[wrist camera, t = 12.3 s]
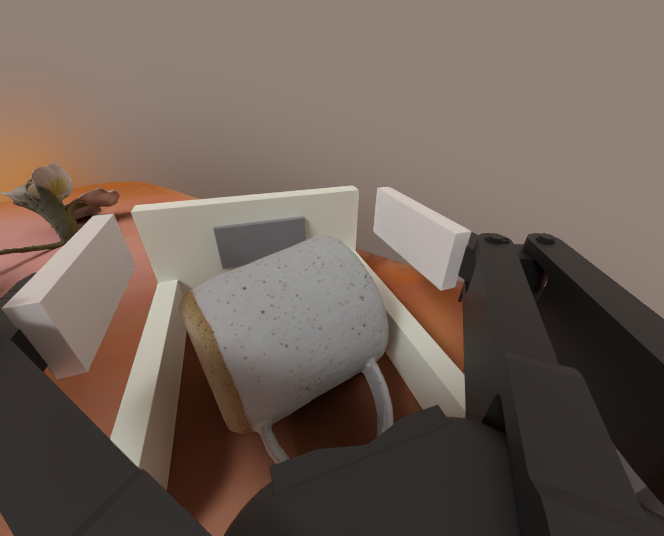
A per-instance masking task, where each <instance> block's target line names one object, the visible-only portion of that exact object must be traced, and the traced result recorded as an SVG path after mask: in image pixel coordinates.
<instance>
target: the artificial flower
mask: <svg viewBox="0 0 664 536" xmlns="http://www.w3.org/2000/svg"><path fill="white" fill-rule="evenodd" d="M29 181H30V183H28V182H29ZM72 189H73V185H72V182H71V179H70V178H69V176H68V175H67V174H66V172H65V171H64V170H63V169H61V167H60V166H59V165H58V164H57V163H55V162H52V163H50V164H48V165H47V166H46V167H41V168H38V169H35V170H34V171H32V178H30V179H29V180H28V181H27V184H26V185H23V186H20V187H18V188H16V189H14V190H13V191H11V192H4V193H2V194H4V195H6V196H8V197H10V198H11V199H13V200H14V202H13V203H14V204H15V205H18V206H22V207H25V208H27V209H29V210H32V211H34V212H36V213H38V214H39V215H41V216H42V217H43V218H44V219H45V220H46V221H48V222H49V223H50V225H51V227H52V228H54V229H55V231H56V232H57V234H58V235H59V237H60V239H61V242H58V243H53V244H49V245H41V246H31V247H24V248H20V249H18V248H13V249H4V250H1V251H0V255H4V254H10V253H25V252H31V251H40V250H45V249H53V248H57V247H60V246H62V245H64V244H66V242H67V241H68V240H69V239H70V236H71V235H73V234H74V232H75V231H76V230H77V228H78V224H77V222H76V219H79V218H82V217H86V216H92V215H98V214H97V213H99V212H101V208H100V207H110V206H112V205H115V204H116V203H117V201H118V199H119V197H120V194H119V193H118V192H117V191H116V190H112V191H109V192H108V191H105V190H104V189H102V188H97V189H94V190H92V191H89V192H87V193H85V194H82V195H81V196H80V198H77V199H75V200H74V201H72V202H71V203H70V204H68V205H66V206H64V205H63V203H62V200H63V199H64V198H66V197H67V196H69V195H70V194H71V192H72Z"/></svg>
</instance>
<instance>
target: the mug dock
mask: <svg viewBox="0 0 664 536" xmlns="http://www.w3.org/2000/svg"><path fill="white" fill-rule="evenodd" d="M358 198H359V190H358V189H357V188H355V187H354V186H343V187H333V188H321V189H310V190H299V191H288V192H277V193H266V194H255V195H245V196H233V197H223V198H212V199H200V200H189V201H178V202H167V203H156V204H145V205H135V207H134V208H133V209H132V211H131V214H132V217H133V219H134V222H135V225H136V227H137V230H138V232H139V235H140V237H141V240H142V243H143V245H144V248H145V250H146V253H147V256H148V258H149V261H150V263H151V266H152V269H153V271H154V274H155V276H156V279H157V281H158V285H157V288H156V292H155V295H154V298H153V301H152V305H151V308H150V311H149V314H148V318H147V321H146V324H145V327H144V331H143V334H142V337H141V340H140V343H139V347H138V350H137V353H136V356H135V360H134V363H133V366H132V369H131V373H130V376H129V379H128V382H127V386H126V389H125V392H124V395H123V399H122V402H121V405H120V408H119V412H118V415H117V418H116V421H115V425H114V428H113V431H112V434H111V438H110V440H111V441H112V442H113V443H114V444H115V445H116V446H117V447H118V448H119V449H120V450H121V451H122V452H123V453H124V454H125V455H126V456H127V457H128V458H129V459H130V460H131V461H132V462H133V463H134V464H135V465H136V466H137V467H138V468H140V469H144V470H145V471H147V472H148V473H149V474H150V475H151V476H152V477H153V478H154V479H155V480H156V481H157V482H158V483H159V484H160V485H161V486H162V487H163V488H164V489H165V490H166V491H167V487H168V479H169V471H170V463H171V455H172V447H173V439H174V431H175V423H176V415H177V407H178V399H179V391H180V383H181V375H182V367H183V359H184V351H185V343H186V335H187V330H186V327H185V325H184V323H183V321H182V318H181V315H180V312H179V310H178V307H179V304H180V302H181V299H182V297H183V296H184V295H185V294H186V293H188V292H189V291H190V290H192V289H194V288H196V287H197V286H199V285H201V284H202V283H204V282H206V281H208V280H210V279H212V278H213V277H215V276H218V275H220V274H223V273H225V272H228V271H230V270H233V269H236V268H238V267H241V266H244V265H247V264H249V263H252V262H254V261H256V260H258V259H261V258H263V257H266V256H268V255H271V254H273V253H276V252H279V251H281V250H284V249H286V248H289V247H291V246H294V245H296V244H298V243H301V242H303V241H305V240H308V239H310V238H313V237H316V236H322V235H324V236H330V237H333V238H335V239H338V240H339V241H341V242H342V243H343V244H344V245H346V246H347V247H348V248H350V249H351V250H352V251H353V252H354V253H355V254H356V255H357V257H358V258H359V259H360V261H361V262H362V263H363V265H364V266H365V268H366V269H367V271H368V272H369V274H370V275H371V277H372V279H373V281H374V283H375V285H376V287H377V289H378V291H379V293H380V296H381V298H382V300H383V304H384V307H385V311H386V315H387V321H388V326H389V336H388V344H387V347H386V349H385V352H386V354H387V356H388V357H389V359H390V360H391V362H392V363H393V365H394V366H395V368H396V369H397V371H398V372H399V374H400V376H401V377H402V379H403V380H404V382H405V383H406V385H407V386H408V388H409V389H410V391H411V392H412V394H413V396H414V397H415V399H416V400H417V402H418V403H419V405H420V406H421V408H422V409H423V410H424V409H427V408H429V407H432V406H435V405H439V407H440V408H441V410H442V411H443V412H444V414H445V415H446V417H460V418H465V414H466V411H465V375H464V374H463V373H462V372H461V371H460V369H459V368H458V367H457V366H456V365H455V364H454V363H453V361H452V360H451V359H450V358H449V357H448V356H447V355H446V353H445V352H444V351H443V350H442V349H441V348H440V347H439V346H438V344H437V343H436V342H435V341H434V340H433V339H432V338H431V336H430V335H429V334H428V333H427V332H426V331H425V330H424V328H423V327H422V326H421V325H420V324H419V323H418V322H417V320H416V319H415V318H414V317H413V316H412V315H411V314H410V313H409V311H408V310H407V309H406V308H405V307H404V306H403V305H402V303H401V302H400V301H399V300H398V299H397V298H396V297H395V295H394V294H393V293H392V292H391V291H390V290H389V289H388V287H387V286H386V285H385V284H384V283H383V282H382V281H381V280H380V278H379V277H378V276H377V275H376V274H375V273H374V272H373V270H372V269H371V268H370V267H369V266H368V265H367V264H366V262H365V261H364V260H363V259H362V258H361V257H360V256H359V254H358V253H357V252H356V251H355V250H356V233H357V216H358V215H357V214H358Z"/></svg>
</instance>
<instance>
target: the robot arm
mask: <svg viewBox="0 0 664 536" xmlns="http://www.w3.org/2000/svg"><path fill="white" fill-rule="evenodd" d="M373 232H374V233H375V234H377V235H378V236H379V237H380V238H381V239H382V240H383V241H385V242H386V243H387V244H388V245H389V246H390V247H391V248H393V249H394V250H395V251H396V252H397V253H398V254H399V255H401V256H402V257H403V258H404V259H405V260H406V261H408V262H409V263H410V264H411V265H412V266H413V267H414V268H415V269H417V270H418V271H419V272H420V273H421V274H422V275H423V276H425V277H426V278H427V279H428V280H429V281H430V282H432V283H433V284H434V285H435V286H436V287H437V288H438V289H440V290H441V291H442V290H446V289H451V288H455V286H456V282H457V279H458V276H460V277H461V278H463V279H464V280H465V281H464V284H463V287H462V290H461V294H460V297H459V300H458V302H461V300H462V299H463V334H464V372H465V411H466V414H465V418H460V417H446V415H445V414H444V412H443V411H442V410H441V408H440V407H439V405H435V406H432V407H429V408H427V409H424V410H421V411H419V412H416V413H413V414H410V415H408V416H405V417H402V418H401V419H400V420H398V421H397V422H396V423H395V424H393V425H392V426H391V427H389V428H388V429H387V430H386V431H384V432H383V433H382V434H381V435H379V436H378V437H377V438H375V439H374V440H373V441H372V442H370V443H369V444H366V445H362V446H349V447H337V448H324V449H316V450H313V451H310V452H308V453H305V454H302V455H300V456H297V457H294V458H291V459H289V460H286V461H283V462H281V463H278V464H275V465H273V466H270V472H271V478H272V482H271V483H269V484H268V485H267V486H265V487H264V488H263V489H261V490H260V491H259V492H258V493H257V494H256V495H255V496H254V497H253V498H252V499H250V501H249V502H248V503H247V504H246V505H245V506H244V507H243V509H242V510H241V511H240V512H239V513H238V515H237V516H236V518H235V519H234V520H233V522H232V523H231V524H230V526H229V528H228V529H227V531H226V533H225V534H224V536H664V517H663V516H661V515H659V514H657V513H655V512H653V511H651V510H649V509H648V508H646V507H644V506H642V505H640V503H639V501H638V498H637V496H636V494H635V492H634V489H633V487H632V485H631V483H630V480H629V478H628V476H627V474H626V471H625V469H624V467H623V465H622V462H621V460H620V458H619V456H618V454H617V451H616V449H615V447H614V445H615V446H616V448H617V449H618V451H619V452H620V453H621V455H622V456H623V457H624V459H625V460H626V461H627V463H628V464H629V465H630V467H631V468H632V469H633V471H634V472H635V473H636V474H637V475H638V477H639V478H640V479H641V480H642V481H643V482H644V484H645V485H646V486H647V487H648V488H649V490H650V491H651V492H652V493H653V494H654V495H655V497H656V498H657V499H658V500H659V501H660V502H661V503H662V504H663V505H664V319H663V318H662V317H660V316H659V315H658V314H656V313H655V312H654V311H653V310H651V309H650V308H649V307H647V306H646V305H645V304H643V303H642V302H641V301H640V300H638V299H637V298H636V297H634V296H633V295H632V294H631V293H629V292H628V291H627V290H625V289H624V288H623V287H621V286H620V285H619V284H618V283H616V282H615V281H614V280H612V279H611V278H610V277H609V276H607V275H606V274H605V273H603V272H602V271H601V270H599V269H598V268H597V267H596V266H594V265H593V264H592V263H590V262H589V261H588V260H587V259H585V258H584V257H582V256H581V255H580V254H579V253H577V252H576V251H575V250H574V249H572V248H571V247H570V246H568V245H567V244H566V243H565V242H563V241H562V240H560V239H558V238H556V237H553V236H552V235H549V234H545V233H543V234H539V233H538V234H537V233H535V234H529V235H528V236H527V238H526V241H525V243H524V244H521V245H520V244H513V242H512V241H511V240H510V239H509V238H507V237H504V236H502V235H499V234H494V233H492V234H491V233H484V234H480V235H477V234H475V233H473V232H471V231H470V230H468V229H466V228H465V227H463V226H461V225H459V224H457V223H455V222H453V221H451V220H450V219H448V218H446V217H444V216H442V215H440V214H438V213H437V212H435V211H433V210H431V209H429V208H427V207H425V206H424V205H422V204H420V203H418V202H416V201H414V200H412V199H411V198H409V197H407V196H405V195H403V194H401V193H399V192H398V191H396V190H394V189H392V188H390V187H382V188H377V198H376V208H375V219H374V230H373ZM135 267H136V266H135V263H134V261H133V258H132V256H131V254H130V251H129V249H128V247H127V244H126V242H125V239H124V237H123V235H122V232H121V230H120V228H119V225H118V223H117V220H116V218H115V216H114V214H106V215H96V216H93V217H92V218H91V219H90V220H89V221H88V222H87V223H86V224H85V225H84V226H83V227H82V228H81V229H80V230H79V231H78V232H77V233H76V234H75V235H74V236H73V237H72V238H71V239H70V240H69V241H68V242H67V243H66V244H65V245H64V246H63V247H62V248H61V249H60V250H59V251H58V252H57V253H56V254H55V255H54V256H53V257H52V258H51V259H50V260H49V261H48V262H47V263H46V264H45V265H44V266H43V267H42V268H41V269H40V270H39V271H38V272H37V273H33V274H31V275H29V276H27V277H26V278H24V279H22V280H20V281H19V282H17V283H16V284H15V285H14V286H13V287H12V288H11V289H10V290H9V291H8V293H6V294H5V295H4V296H3V297H2V298H1V299H0V512H1V514H2V516H3V517H4V519H5V521H6V523H7V524H8V526H9V528H10V530H11V532H12V533H13V535H14V536H212V535H211V534H210V533H209V532H208V531H207V530H206V529H205V528H204V527H203V526H202V525H201V524H200V523H199V522H198V521H197V520H195V519H194V518H193V517H192V516H191V515H190V514H189V513H188V512H187V511H186V510H185V509H184V508H183V507H182V506H181V505H180V504H179V503H178V502H177V501H176V500H175V499H174V498H173V497H172V496H171V495H170V494H169V493H168V492H167V491H166V490H165V489H164V488H163V487H162V486H161V485H160V484H159V483H158V482H157V481H156V480H155V479H154V478H153V477H152V476H151V475H150V474H149V473H148V472H147V471H145V470H144V469H140V468H138V467H137V466H136V465H135V464H134V463H133V462H132V461H131V460H130V459H129V458H128V457H127V456H126V455H125V454H124V453H123V452H122V451H121V450H120V449H119V448H118V447H117V446H116V445H115V444H114V443H113V442H112V441H111V440H110V439H109V438H108V437H107V436H106V435H105V434H104V433H103V432H102V431H101V430H100V429H99V428H98V427H97V426H96V425H95V424H94V423H93V422H92V421H91V420H90V419H89V418H88V417H87V416H86V415H85V414H84V413H83V412H82V411H81V410H80V409H79V408H78V407H77V406H76V405H75V404H74V403H73V402H72V401H71V400H70V399H69V398H68V397H67V396H66V395H65V394H64V393H63V392H62V391H61V390H60V389H59V388H58V387H57V386H56V385H55V384H54V383H53V382H52V381H51V380H50V379H49V378H48V377H47V376H46V375H45V374H44V373H43V372H44V370H45V369H46V367H48V368H49V370H50V371H51V372H52V373H53V375H54V376H55V377H56V379H62V378H66V377H70V376H75V375H79V374H83V373H88V371H89V368H90V366H91V364H92V362H93V360H94V357H95V355H96V353H97V351H98V349H99V346H100V344H101V342H102V340H103V338H104V335H105V333H106V331H107V329H108V327H109V324H110V322H111V320H112V318H113V316H114V313H115V311H116V309H117V307H118V305H119V302H120V300H121V298H122V296H123V294H124V291H125V289H126V287H127V285H128V283H129V280H130V278H131V276H132V274H133V272H134V269H135ZM547 279H548V280H547ZM546 281H547V284H546ZM545 284H546V286H544V285H545ZM613 443H614V445H613Z"/></svg>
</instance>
